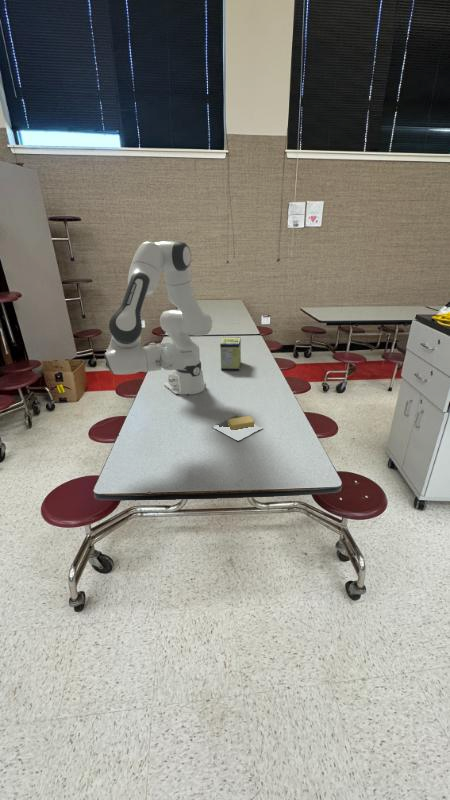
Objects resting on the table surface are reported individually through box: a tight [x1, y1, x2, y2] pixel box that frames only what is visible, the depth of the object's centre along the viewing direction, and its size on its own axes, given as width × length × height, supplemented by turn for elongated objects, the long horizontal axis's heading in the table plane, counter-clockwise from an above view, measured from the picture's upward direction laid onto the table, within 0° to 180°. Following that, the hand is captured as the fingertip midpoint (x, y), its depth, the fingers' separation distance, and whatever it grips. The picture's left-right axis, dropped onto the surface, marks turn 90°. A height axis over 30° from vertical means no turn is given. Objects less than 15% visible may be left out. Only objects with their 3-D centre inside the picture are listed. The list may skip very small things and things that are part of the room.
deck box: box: [227, 415, 255, 430], centre depth 144 cm, size 2×5×10 cm
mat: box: [216, 414, 240, 427], centre depth 143 cm, size 15×14×1 cm
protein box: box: [219, 336, 242, 372], centre depth 205 cm, size 10×16×16 cm
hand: (192, 353), depth 129 cm, fingers closed
